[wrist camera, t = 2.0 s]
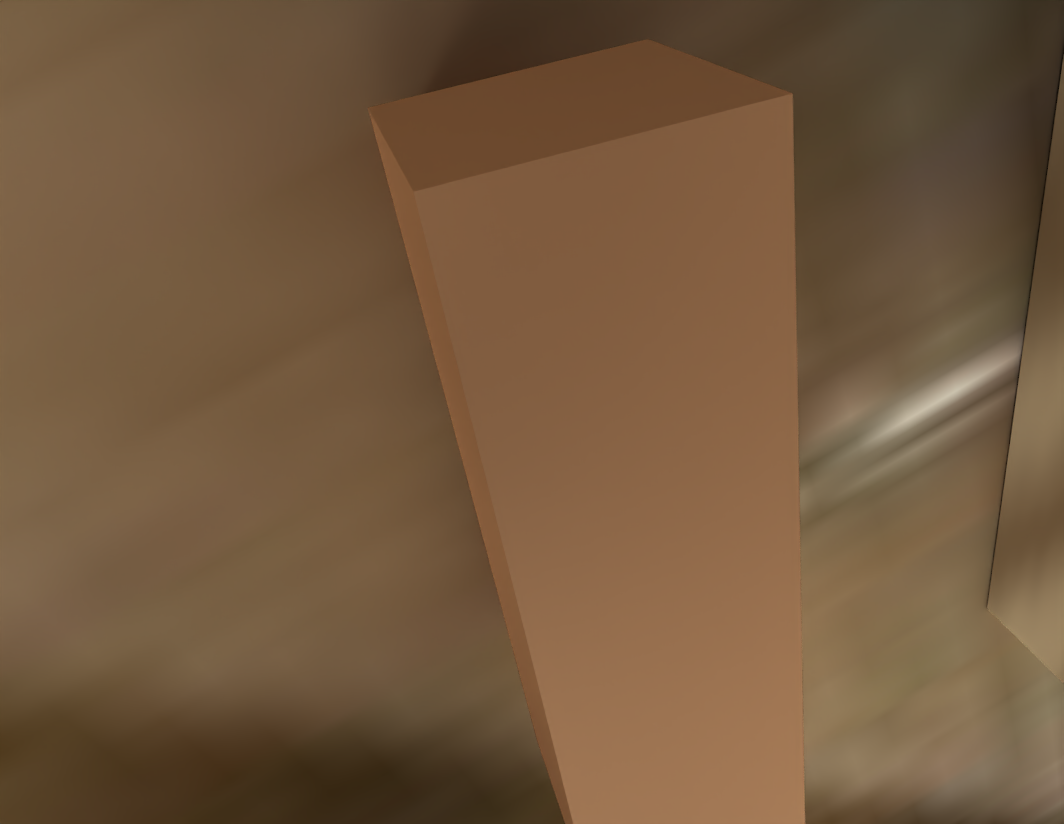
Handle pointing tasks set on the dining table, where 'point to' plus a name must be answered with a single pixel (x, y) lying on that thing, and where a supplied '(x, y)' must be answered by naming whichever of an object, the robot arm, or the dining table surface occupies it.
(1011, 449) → the rail
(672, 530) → the orange-tan bridge block
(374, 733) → the dining table surface
